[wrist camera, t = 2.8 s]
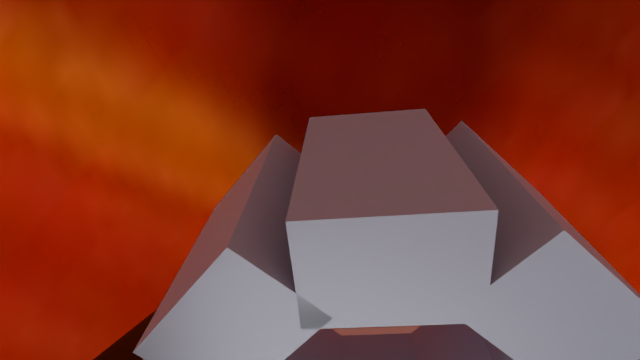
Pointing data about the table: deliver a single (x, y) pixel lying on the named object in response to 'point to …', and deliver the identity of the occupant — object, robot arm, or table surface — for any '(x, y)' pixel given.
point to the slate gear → (391, 258)
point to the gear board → (376, 330)
